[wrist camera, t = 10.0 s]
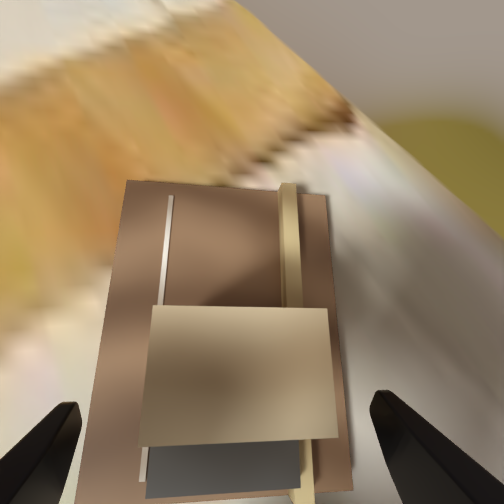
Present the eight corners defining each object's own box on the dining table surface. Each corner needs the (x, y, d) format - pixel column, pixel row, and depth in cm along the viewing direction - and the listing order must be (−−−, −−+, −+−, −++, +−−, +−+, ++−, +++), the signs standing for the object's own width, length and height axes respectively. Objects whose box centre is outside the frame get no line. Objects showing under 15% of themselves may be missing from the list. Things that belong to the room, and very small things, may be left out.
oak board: (343, 481, 17) (373, 508, 14) (83, 498, 15) (52, 535, 12) (319, 203, 23) (336, 180, 20) (131, 189, 21) (118, 161, 18)
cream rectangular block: (278, 399, 17) (338, 437, 9) (146, 403, 16) (92, 449, 8) (276, 327, 18) (327, 308, 10) (154, 326, 17) (114, 304, 9)
